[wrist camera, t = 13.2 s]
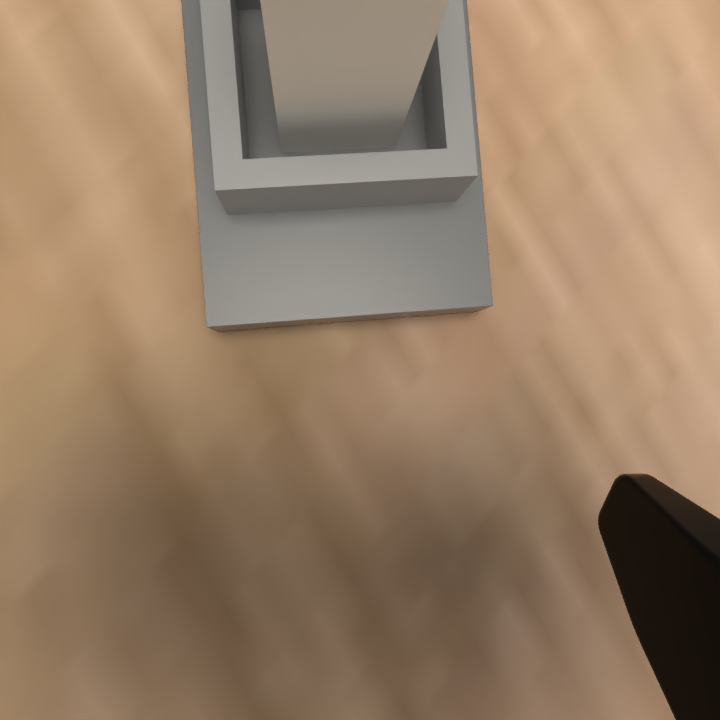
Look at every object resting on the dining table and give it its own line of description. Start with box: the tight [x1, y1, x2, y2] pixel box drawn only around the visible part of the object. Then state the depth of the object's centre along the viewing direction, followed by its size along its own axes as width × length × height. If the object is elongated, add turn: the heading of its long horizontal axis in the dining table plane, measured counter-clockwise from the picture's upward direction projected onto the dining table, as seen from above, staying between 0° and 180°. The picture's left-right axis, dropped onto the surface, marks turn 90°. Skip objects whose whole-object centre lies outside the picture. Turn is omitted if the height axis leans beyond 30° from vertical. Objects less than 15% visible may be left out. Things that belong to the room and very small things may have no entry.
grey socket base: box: [181, 0, 493, 331], centre depth 19 cm, size 14×9×4 cm, turn 5°
